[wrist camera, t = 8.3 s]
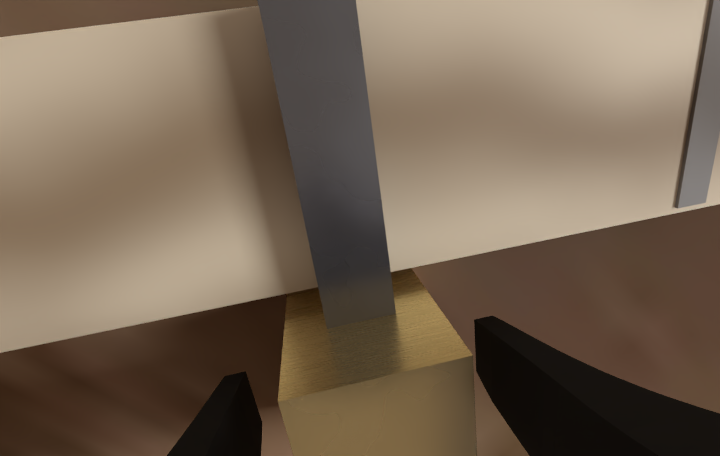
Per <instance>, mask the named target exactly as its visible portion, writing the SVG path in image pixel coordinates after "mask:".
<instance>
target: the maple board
mask: <svg viewBox="0 0 720 456" xmlns="http://www.w3.org/2000/svg"><path fill="white" fill-rule="evenodd" d="M356 6H357V13H358V21H359V29H360V37H361V45H362V52H363V60H364V68H365V76H366V84H367V91H368V99H369V107H370V115H371V122H372V130H373V138H374V146H375V154H376V161H377V169H378V177H379V185H380V192H381V200H382V208H383V216H384V224H385V231H386V239H387V247H388V255H389V262H390V270H391V272H393V271H398V270H403V269H408V268H413V267H418V266H422V265H427V264H432V263H437V262H442V261H447V260H452V259H456V258H461V257H466V256H471V255H476V254H481V253H485V252H490V251H495V250H500V249H505V248H510V247H514V246H519V245H524V244H529V243H534V242H539V241H543V240H548V239H553V238H558V237H563V236H568V235H572V234H577V233H582V232H587V231H592V230H597V229H601V228H606V227H611V226H616V225H621V224H626V223H630V222H635V221H640V220H645V219H650V218H655V217H659V216H664V215H669V214H674V213H679V212H684V211H688V210H693V209H698V208H703V207H708V206H713V205H717V204H720V0H356ZM316 287H318V284H317V279H316V275H315V270H314V265H313V260H312V256H311V251H310V246H309V241H308V237H307V232H306V227H305V222H304V218H303V213H302V208H301V204H300V199H299V194H298V189H297V185H296V180H295V175H294V170H293V166H292V161H291V156H290V151H289V147H288V142H287V137H286V133H285V128H284V123H283V118H282V114H281V109H280V104H279V99H278V95H277V90H276V85H275V80H274V76H273V71H272V66H271V62H270V57H269V52H268V47H267V43H266V38H265V33H264V28H263V24H262V19H261V14H260V9H259V6H254V7H246V8H238V9H229V10H221V11H213V12H205V13H197V14H188V15H180V16H172V17H164V18H155V19H147V20H139V21H131V22H123V23H114V24H106V25H98V26H90V27H82V28H73V29H65V30H57V31H49V32H40V33H32V34H24V35H16V36H8V37H0V353H2V352H7V351H12V350H16V349H21V348H26V347H31V346H36V345H41V344H45V343H50V342H55V341H60V340H65V339H70V338H74V337H79V336H84V335H89V334H94V333H99V332H103V331H108V330H113V329H118V328H123V327H128V326H132V325H137V324H142V323H147V322H152V321H157V320H161V319H166V318H171V317H176V316H181V315H186V314H190V313H195V312H200V311H205V310H210V309H215V308H219V307H224V306H229V305H234V304H239V303H244V302H248V301H253V300H258V299H263V298H268V297H273V296H277V295H282V294H287V293H292V292H297V291H302V290H306V289H311V288H316Z"/></svg>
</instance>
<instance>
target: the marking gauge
mask: <svg viewBox="0 0 720 456" xmlns="http://www.w3.org/2000/svg"><path fill="white" fill-rule="evenodd" d="M258 5H259V9H260V14H261V19H262V24H263V28H264V33H265V38H266V43H267V47H268V52H269V57H270V62H271V66H272V71H273V76H274V80H275V85H276V90H277V95H278V99H279V104H280V109H281V114H282V118H283V123H284V128H285V133H286V137H287V142H288V147H289V151H290V156H291V161H292V166H293V170H294V175H295V180H296V185H297V189H298V194H299V199H300V204H301V208H302V213H303V218H304V222H305V227H306V232H307V237H308V241H309V246H310V251H311V256H312V260H313V265H314V270H315V275H316V279H317V284H318V287H316V288H311V289H306V290H302V291H297V292H292V293H287V302H286V314H285V325H284V336H283V348H282V359H281V370H280V382H279V393H278V405H279V408H280V411H281V415H282V418H283V422H284V425H285V428H286V432H287V435H288V439H289V442H290V445H291V449H292V452H293V456H477V443H476V420H475V396H474V373H473V355H472V354H471V352H470V351H469V349H468V348H467V347H466V345H465V344H464V342H463V341H462V339H461V338H460V337H459V335H458V334H457V332H456V331H455V330H454V328H453V327H452V325H451V324H450V323H449V321H448V320H447V318H446V317H445V315H444V314H443V313H442V311H441V310H440V308H439V307H438V306H437V304H436V303H435V301H434V300H433V298H432V297H431V296H430V294H429V293H428V291H427V290H426V289H425V287H424V286H423V284H422V283H421V282H420V280H419V279H418V277H417V276H416V274H415V273H414V272H413V270H412V269H411V268H408V269H403V270H398V271H393V272H391V270H390V262H389V255H388V247H387V239H386V231H385V224H384V216H383V208H382V200H381V192H380V185H379V177H378V169H377V161H376V154H375V146H374V138H373V130H372V122H371V115H370V107H369V99H368V91H367V84H366V76H365V68H364V60H363V52H362V45H361V37H360V29H359V21H358V13H357V6H356V0H258Z"/></svg>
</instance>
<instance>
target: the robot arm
mask: <svg viewBox="0 0 720 456" xmlns="http://www.w3.org/2000/svg"><path fill="white" fill-rule="evenodd" d="M474 323H475V348H476V371H477V373H478V375H479V377H480V379H481V381H482V383H483V385H484V387H485V389H486V391H487V392H488V394H489V396H490V398H491V400H492V402H493V403H494V405H495V406H496V408H497V409H498V411H499V412H500V414H501V415H502V416H503V418H504V419H505V421H506V422H507V424H508V425H509V427H510V428H511V430H512V431H513V433H514V434H515V435H516V437H517V438H518V440H519V441H520V443H521V444H522V446H523V447H524V448H525V450H526V451H527V453H528V454H529V456H720V414H719V413H716V412H713V411H709V410H706V409H703V408H700V407H697V406H694V405H691V404H688V403H685V402H682V401H679V400H676V399H673V398H670V397H667V396H664V395H661V394H658V393H656V392H653V391H650V390H647V389H645V388H642V387H640V386H637V385H635V384H632V383H629V382H627V381H624V380H622V379H619V378H617V377H614V376H612V375H610V374H607V373H605V372H603V371H600V370H598V369H596V368H594V367H592V366H590V365H587V364H585V363H583V362H581V361H579V360H577V359H574V358H572V357H570V356H568V355H566V354H564V353H562V352H560V351H558V350H556V349H554V348H552V347H551V346H549V345H547V344H545V343H543V342H541V341H539V340H537V339H535V338H533V337H532V336H530V335H528V334H526V333H524V332H522V331H521V330H519V329H517V328H515V327H513V326H511V325H509V324H508V323H506V322H504V321H502V320H500V319H498V318H496V317H494V316H489V317H484V318H480V319H476V320H474ZM261 441H262V421H261V418H260V415H259V412H258V408H257V405H256V402H255V399H254V396H253V393H252V390H251V387H250V384H249V381H248V377H247V374H246V372H241V373H237V374H233V375H228V376H225V377H224V378H223V380H222V381H221V382H220V384H219V385H218V386H217V388H216V389H215V391H214V392H213V393H212V395H211V396H210V398H209V399H208V400H207V402H206V403H205V405H204V406H203V408H202V409H201V410H200V412H199V413H198V415H197V416H196V417H195V419H194V420H193V421H192V423H191V424H190V426H189V427H188V428H187V430H186V431H185V432H184V434H183V435H182V436H181V438H180V439H179V441H178V442H177V443H176V445H175V446H174V447H173V448H172V450H171V451H170V452H169V453H168V455H167V456H261Z"/></svg>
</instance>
